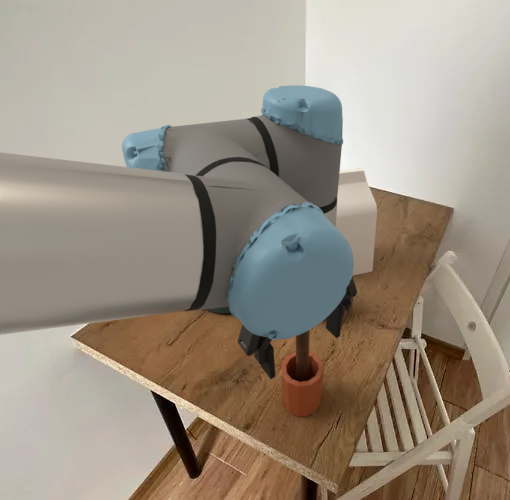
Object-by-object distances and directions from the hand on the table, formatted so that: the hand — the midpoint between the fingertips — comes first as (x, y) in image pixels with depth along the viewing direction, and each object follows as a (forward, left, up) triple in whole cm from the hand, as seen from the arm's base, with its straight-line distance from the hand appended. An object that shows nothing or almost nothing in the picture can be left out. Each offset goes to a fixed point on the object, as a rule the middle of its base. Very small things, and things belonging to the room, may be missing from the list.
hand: (302, 350), depth 54 cm
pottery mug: (+16, +14, -13) cm, 25 cm away
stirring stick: (0, 0, -13) cm, 13 cm away
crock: (0, 0, -13) cm, 13 cm away
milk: (+31, +25, -13) cm, 42 cm away
